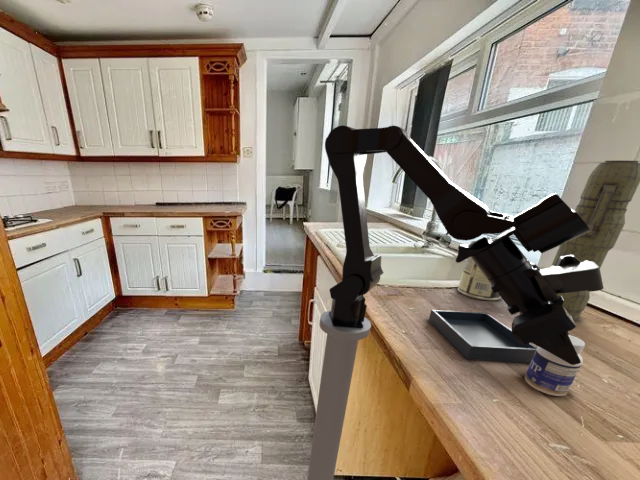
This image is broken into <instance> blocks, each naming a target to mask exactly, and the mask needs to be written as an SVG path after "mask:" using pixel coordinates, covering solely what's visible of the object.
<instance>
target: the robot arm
mask: <svg viewBox="0 0 640 480" xmlns="http://www.w3.org/2000/svg"><path fill="white" fill-rule="evenodd" d="M324 149H325V153H326V157H327V160H328V164H329V167H330V168H331V170H332V172H333V174H334V176H335V177H336V179H337V184H338V193H339V200H340V211H341V217H342V226H343V235H344V242H345V243H344V244H345V250H346V251H345V252H346V253H345V256H344V260H343V265H342V273H341V281H339V282H338V283H337V284H335V285H332V287H330V288H329V294H330V298H331V300H332V301H331V307H330V310H331V312H329V317H330V319H331V322H332V325H333V326H334V327H350V328H363V324H362V322H364V318H365V317H366V314H367V313H366V312H367V309H368V308H367V307H368V305H367V304H366V298H365V296H364V295H366V294H367V293H369V292H370V291H371V290H372V289H374V288H375V287H376V286H377V285H378V284H379V282H380V281H381V276H382V275H383V274H384V271H383V269H382V254H377V255H375V254H374V253H373V251H372V249H371V246H370V236H369V229H368V228H369V227H368V218H367V207H366V199H365V190H364V180H363V175H364V170H365V166H366V162H367V156H368V155H376V154H383V153H387V155H389V157H390V158H391V159H392V160H393V161H394V162H395V163H396V164H397V166H398V167H400V169H401V170H402V171H403V172H404V173H405V174H406V175H407V176H408V178H409V179H410V180H411V181H412V182H413V183H414V184H415V186H417V188H419V190H420V191H421V192H422V193H423V194H424V195H425V196H426V198H427V199H428V200H429V201H430V203H431V204H432V206H433V208H434V211H435V213H436V215H437V217H438V219H439V221H440V222H441V224H442V226H443V227H444V229H445V231H446V232H447V234H448V235H449V236H450V237H452V238H453V239H455V240H458V241H472V240H474V241H475V242H473V243H471V242H470V244H464V243H460V244H459V245H457V246H458V247H457V249H458V250H457V255H456V258H455V262H456V264H457V263H462V262H464V261H466V259H467V258H469V257H471V259H472V260H473V261H474V262H475V264H476V265H477V266H478V268H479V269H480V270H481V272H482V273H483V274H484V275H485V277H486V278H487V279H488V281H489V282H490V283H491V289H492V290H493V291H494V293H496V292H498V294H499V295H500V297H501V298H500V299H502V301H503V302H504V303H505V305H506V306H507V308H506V309H507V311H508V313H509V314H510V315H511V316H512V315H516V314H518V315H516V316H514V317H513V320H512V322H511V330H512V334H513V335H514V336H515V338H516V339H517V340H518V342H519V343H520V344H528V343H532V344H533V345H535V346H536V347H538V346H539V347H541V348H543V349H544V350H546V351H548V352H550V353H552V354H553V355H555V356H557V357H559V358H560V359H562V360H564V361H566V362H567V363H569V364H571V365H575V364H579V363H581V361H580V359H579V357H578V354H577V352H576V350H575V348H574V346H573V344H572V342H571V340H570V338H569V336H568V335H570V333H569V332H570V331H572V330H574V329H576V328H577V325H576V323H575V321H573V319H572V316H570V315H569V313H568V312H567V311H566V309H565V308H564V307H563V306H562V305H563V303H564V300H563V298H562V296H558V295H557V294H559V293H570V292H579V291H589V292H590V293H591V292H598V291H603V290H604V282H603V278H602V274H601V268H599V266H598V265H597V264H596V263H595V262H593V261H588V260H586V261H584V262H581V261H579V260H578V259H577V258H576V257H575V256H574V255H567V256H561V257H560V258H559V260H558V262H557V265H556V266H551V265H550V267H545V268H540V267H539V266H538V265H537V264H536V263H535V262H534V263H533V262H532V261H530V260H528V258H527V257H526V255H524V253H523V252H522V251H521V249H520V248H519V247H518V246H517V245H516V243H515V242H514V240H513V239H512V238H511V236H514V237H515V238H516V239H517V241H518V242H519V243H520V244H521V246H522V247H523V248H524V250H526V251H527V252H528V253H530V252H533V253H536V252H540V254H544V253H546V252H548V251H551V250H553V249H555V248H557V247H559V246H560V245H561V244H564V243H566V242H568V241H570V240H572V239H574V238H577V237H579V236H581V235H583V234H585V233H587V232H590V231H591V230H590V229H589V227H588V226H587V224H586V223H585V222H584V221H583V219H582V218H581V217H580V216H579V215H578V214H577V212H575V211H574V210H575V209H572V208H570V206H569V205H568V204H567V203H566V202H565V201H564V200H563V198H561V196H560V195H559V194H558V193H556V192H555V193H553V192H552V193H551V194H549V195H548V196H546V197H544V198H542V199H541V200H540V201H539V202H537V203H536V204H534V205H532V206H530V207H528V208H527V209H525V210H523V211H522V212H519V213H518V214H516V215H510V214H508V213H500V212H496V211H492V210H490V208H489V206H487V205H486V204H485V203H484V202H482V201H481V200H479V199H478V198H476V197H475V196H473V195H472V194H471V193H469V192H467V191H465V190H464V189H463V188H461V187H459V186H458V185H457V184H455V183H454V182H452V180H451V179H449V177H448V176H447V175H446V174H445V173H444V172H443V171H442V170H441V169H440V168H439V167H438V165H436V163H435V162H434V161H432V159H431V158H430V157H429V156H428V155H427V154H426V153H425V152H424V151H423V150H422V148H420V146H419V145H418V144H416V142H415V141H414V140H413V138H411V137H410V136H409V133H408V132H407V130H406V129H404V128H402V127H401V126H398V125H389V126H385V127H373V128H371V127H370V128H369V127H368V128H355V127H351V126H348V125H339V126H338V125H337V126H336V127H333V128H332V130H331V131H330V132H329V133H328V135H327V137H326V138H325V140H324ZM493 234H495V235H496V236H494V237H492V238H491V237H489V236H488V235H493ZM497 234H499V235H497ZM482 235H484V236H482ZM481 236H482V237H481ZM478 238H479V239H478ZM475 239H477V240H475Z"/></svg>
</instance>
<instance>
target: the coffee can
mask: <svg viewBox="0 0 640 480" xmlns="http://www.w3.org/2000/svg"><path fill="white" fill-rule="evenodd" d="M475 241H476V240H473V241H472V240H471V242H470V244H471V243H473V242H475ZM457 291H458V292H459V293H461V294H462V295H465V296H466V297H470V298H472V299H473V298H474V299H477V300H484V301H498V300H500V299H502V298H501V296H500V295H499V294H498V292H496V293H494V291H493V290H492V289H491V283H490V282H489V281H488V279H487V278H486V277H485V275H484V274H483V273H482V272H481V270H480V269H479V268H478V266H477V265H476V264H475V262H474V261H473V260H472V259H471V257H469V258H467V259H465V264H464V267H463V269H462V273H461V277H460V280H459V284H458V287H457Z"/></svg>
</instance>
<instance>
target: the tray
mask: <svg viewBox="0 0 640 480" xmlns="http://www.w3.org/2000/svg"><path fill="white" fill-rule="evenodd" d="M428 322H429V323H430V324H431V325H432V326H433V327H434V328H435V329H436V331H438V332H439V333H440V334H441V335H442V336H443V337H444V338H445V339H446V340H447V341H448V342H449V343H450V344H451V345H452V346H453V347H454V348H455V349H456V350H457V351H458V352H459V353H460V354H461V355H462V356H463V357H464V358H465V359H466V360H474V361H487V362H489V361H490V362H505V363H523V364H530V363H531V360H532V358H533V356H534V354H535V352H536V349H537V347H538V346H537V345H535V344H533V343H528V344H520V343H519V342H518V340H517V339H516V338H515V336H514V335H513V334H512V328H510V327H509V326H507V325H506V324H504V323H503V322H501V321H500V320H499V319H497V318H496V317H495V316H493V315H491V314H489V313H488V312H480V311H479V312H478V311H464V310H463V311H462V310H461V311H460V310H446V309H445V310H443V309H431V310H430V313H429V317H428Z"/></svg>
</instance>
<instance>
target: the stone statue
mask: <svg viewBox="0 0 640 480" xmlns="http://www.w3.org/2000/svg"><path fill="white" fill-rule="evenodd" d="M639 185H640V162H639V160H604V162H599V163H597V165H596V166H595V167H594V169H593V170H592V171H591V173H590V174H589V175H588V177H587V179H586V182H585V184H584V187H583V189H582V192H581V195H580V197H579V198H580V200H579V202H578V204H577V205H576V206H575V208H574V209H573V210H574V211H575V212H577V214H578V215H579V216H580V217H581V218H582V219H583V221H584V222H585V223H586V224H587V226H588V227H589V229H590V230H591V231H590V232H587V233H585V234H583V235H581V236H579V237H577V238H574V239H572V240H570V241H568V242H566V243H564V244H561V245H559V246H558V248H557V250H556V253H555V256H554V258H553V260H552V263H551V265H550V267H551V266H556V265H557V262H558V260H559V258H560V257H561V256H567V255H574V256H575V257H576V258H577V259H578V260H579V261H581V262H584V261H586V260H588V261H593V262H595V263H596V264H597V265H598V266H599V268H600V269H601V268H602V265H603V264H604V261H605V259H606V257H607V255H608V253H609V251H611V250H612V249H614V247H615V245H616V243H617V241H618V239H619V238H620V234H621V232H622V231H623V228H624V226H625V225H626V213H627V210H628V206H629V203H630V202H632V201H633V198H634V196H635V194H636V192H637V189H638V187H639ZM590 293H591V292H590V291H579V292H570V293H559V294H557V295H558V296H562V298H563V300H564V303H563V305H562V306H563V307H564V308H565V309H566V311H567V312H568V313H569V315H570V316H572V319H573V321H574V322H577V321H578V320H579V319H580V316H581V314H582V313H583V311H584V310H586V307H587V305H588V303H589V301H590V297H591V296H590Z"/></svg>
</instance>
